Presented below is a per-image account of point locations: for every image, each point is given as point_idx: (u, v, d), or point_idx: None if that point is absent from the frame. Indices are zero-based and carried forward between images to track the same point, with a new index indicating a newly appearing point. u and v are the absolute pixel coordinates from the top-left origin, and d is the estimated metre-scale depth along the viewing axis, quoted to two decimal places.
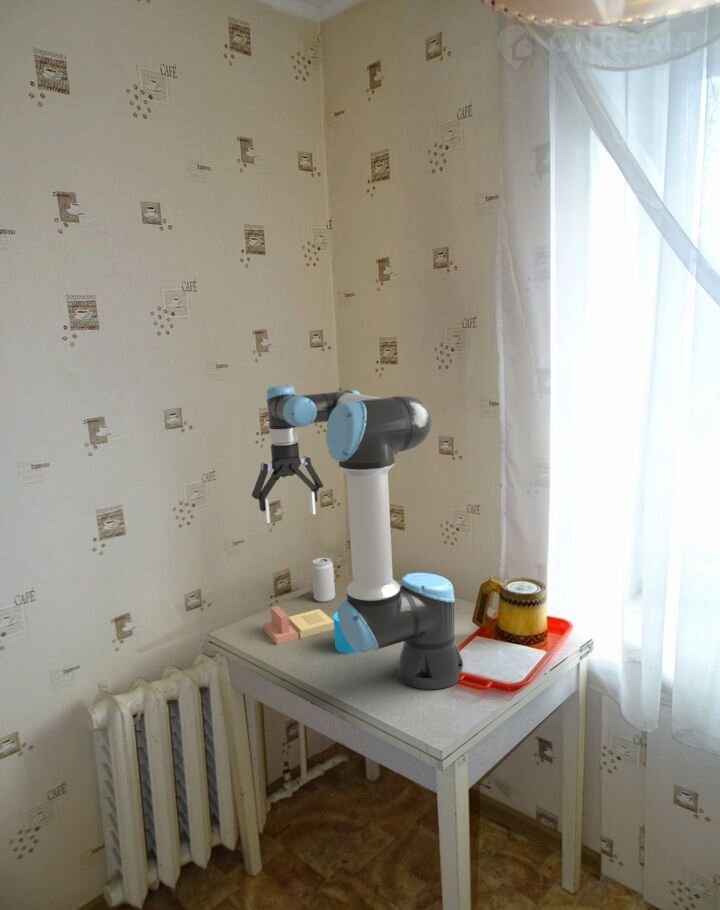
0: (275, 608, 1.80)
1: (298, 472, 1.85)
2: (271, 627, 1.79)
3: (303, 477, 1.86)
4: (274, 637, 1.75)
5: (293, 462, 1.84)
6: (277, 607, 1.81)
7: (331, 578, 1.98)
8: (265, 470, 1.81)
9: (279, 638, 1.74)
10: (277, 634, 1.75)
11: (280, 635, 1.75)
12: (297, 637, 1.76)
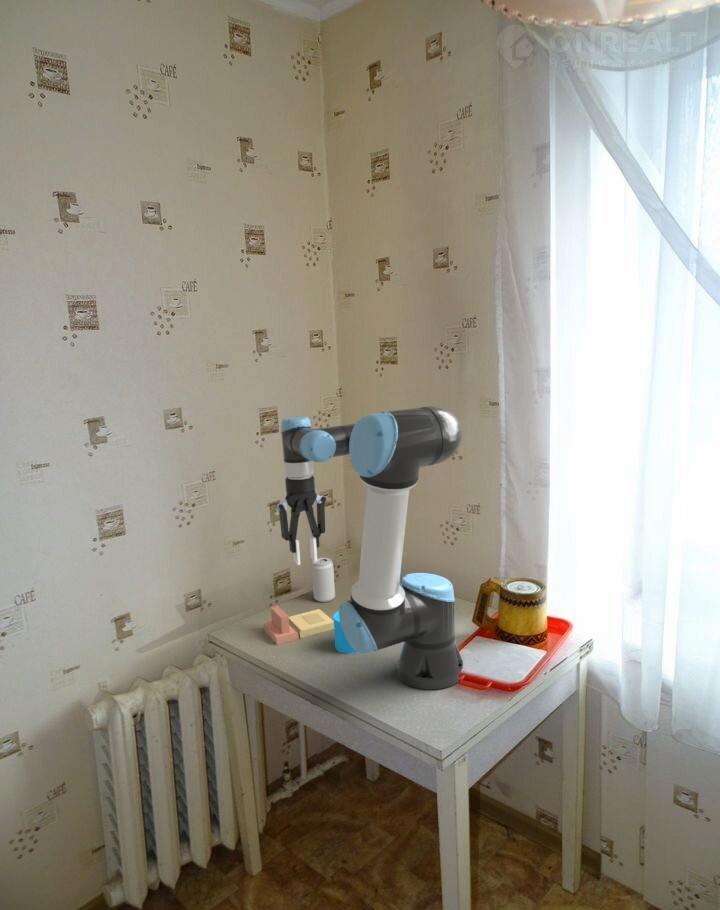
0: (275, 608, 1.80)
1: (310, 509, 1.76)
2: (271, 627, 1.79)
3: (312, 517, 1.77)
4: (274, 637, 1.75)
5: (309, 494, 1.76)
6: (277, 607, 1.81)
7: (331, 578, 1.98)
8: (283, 511, 1.73)
9: (279, 638, 1.74)
10: (277, 634, 1.75)
11: (280, 635, 1.75)
12: (297, 637, 1.76)
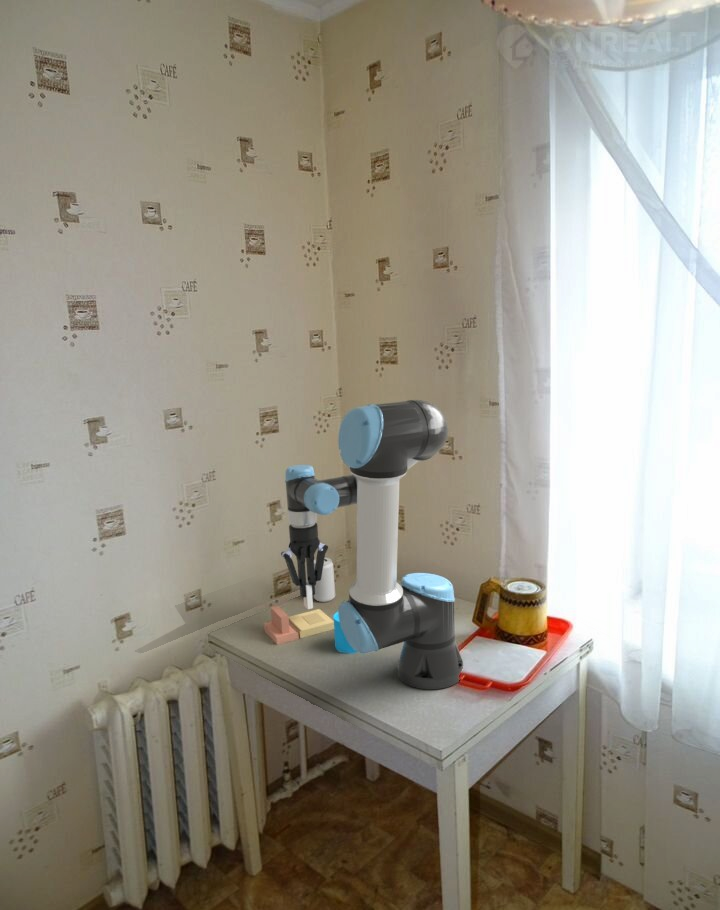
0: (275, 608, 1.80)
1: (311, 556, 1.78)
2: (271, 627, 1.79)
3: (311, 564, 1.79)
4: (274, 637, 1.75)
5: (313, 540, 1.78)
6: (277, 607, 1.81)
7: (331, 578, 1.98)
8: (288, 559, 1.76)
9: (279, 638, 1.74)
10: (277, 634, 1.75)
11: (280, 635, 1.75)
12: (297, 637, 1.76)
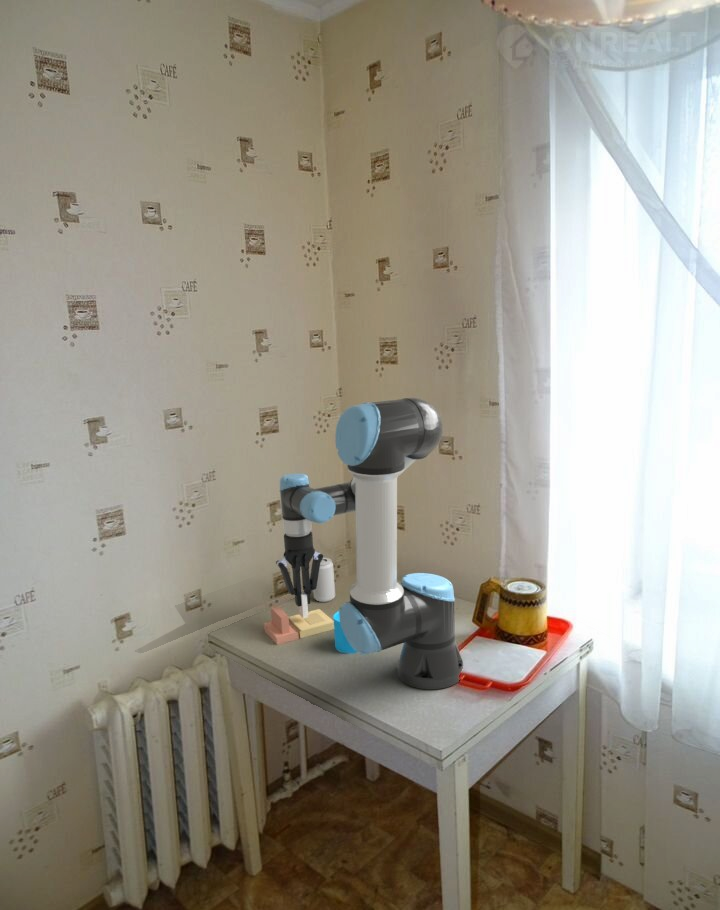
0: (275, 608, 1.80)
1: (306, 565, 1.78)
2: (271, 627, 1.79)
3: (306, 573, 1.79)
4: (274, 637, 1.75)
5: (308, 549, 1.78)
6: (277, 607, 1.81)
7: (331, 578, 1.98)
8: (283, 568, 1.76)
9: (279, 638, 1.74)
10: (277, 634, 1.75)
11: (280, 635, 1.75)
12: (297, 637, 1.76)
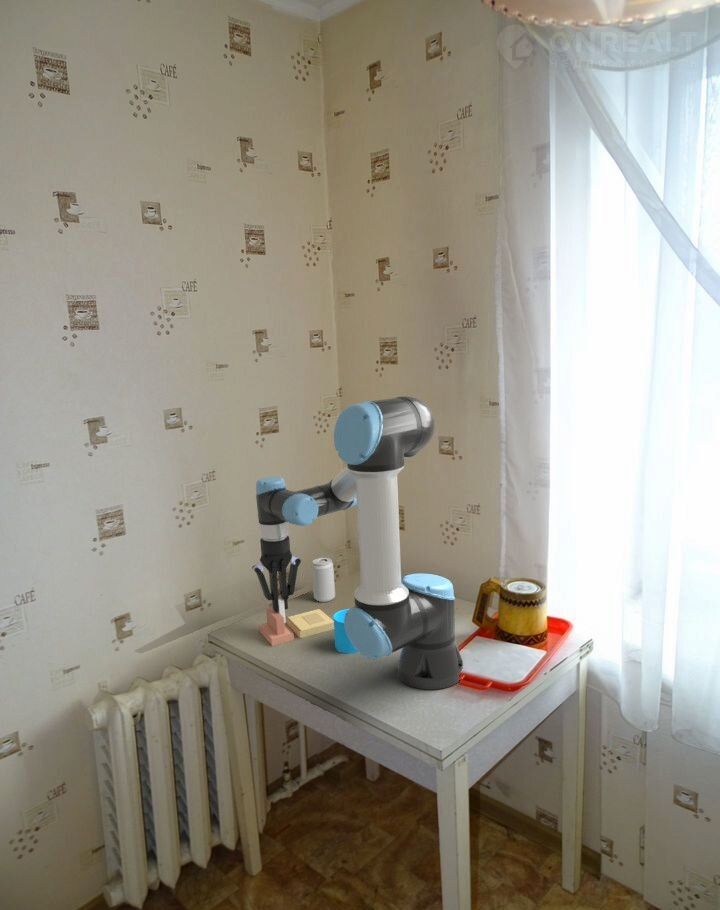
0: (270, 609, 1.80)
1: (283, 570, 1.75)
2: (267, 629, 1.78)
3: (283, 578, 1.76)
4: (269, 638, 1.74)
5: (285, 554, 1.75)
6: (272, 608, 1.80)
7: (331, 578, 1.98)
8: (259, 573, 1.73)
9: (274, 639, 1.73)
10: (272, 636, 1.74)
11: (275, 636, 1.74)
12: (292, 638, 1.75)
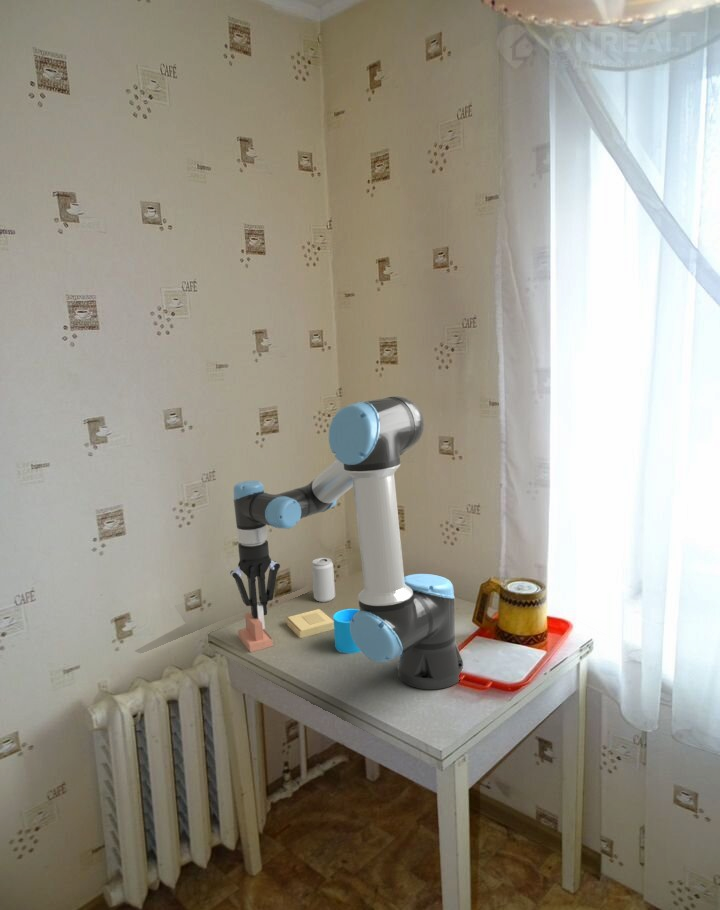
0: (249, 614, 1.77)
1: (262, 575, 1.72)
2: (245, 634, 1.76)
3: (262, 583, 1.73)
4: (247, 644, 1.72)
5: (264, 558, 1.73)
6: None
7: (331, 578, 1.98)
8: (238, 579, 1.70)
9: (252, 645, 1.70)
10: (251, 641, 1.72)
11: (253, 642, 1.71)
12: (271, 644, 1.73)
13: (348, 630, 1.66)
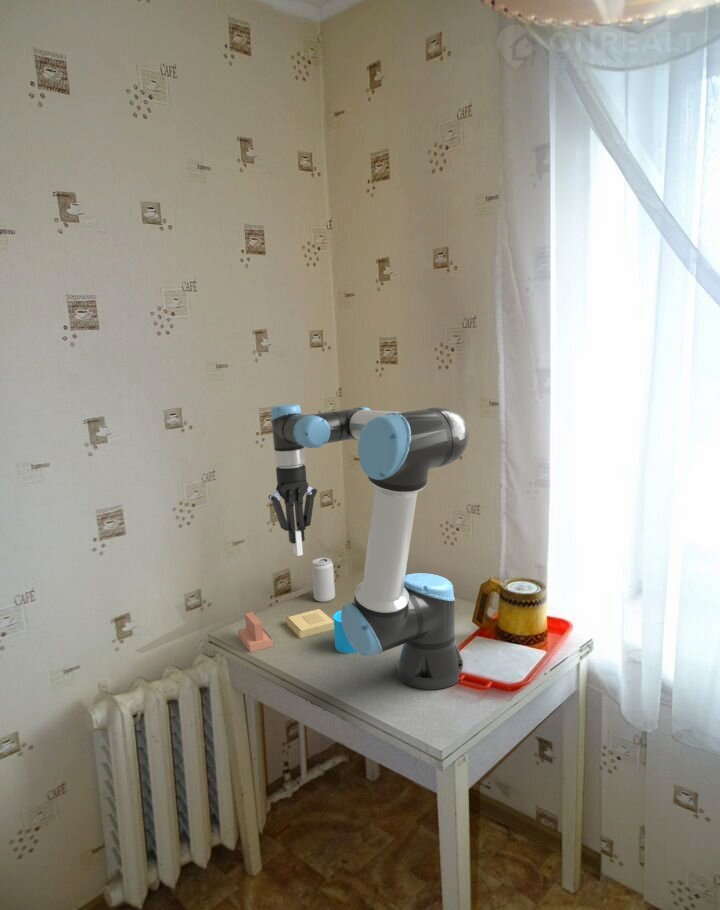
0: (249, 614, 1.77)
1: (300, 499, 1.72)
2: (245, 634, 1.76)
3: (300, 508, 1.73)
4: (247, 644, 1.72)
5: (301, 483, 1.72)
6: (251, 613, 1.78)
7: (331, 578, 1.98)
8: (276, 502, 1.69)
9: (252, 645, 1.70)
10: (251, 641, 1.72)
11: (253, 642, 1.71)
12: (271, 644, 1.73)
13: None
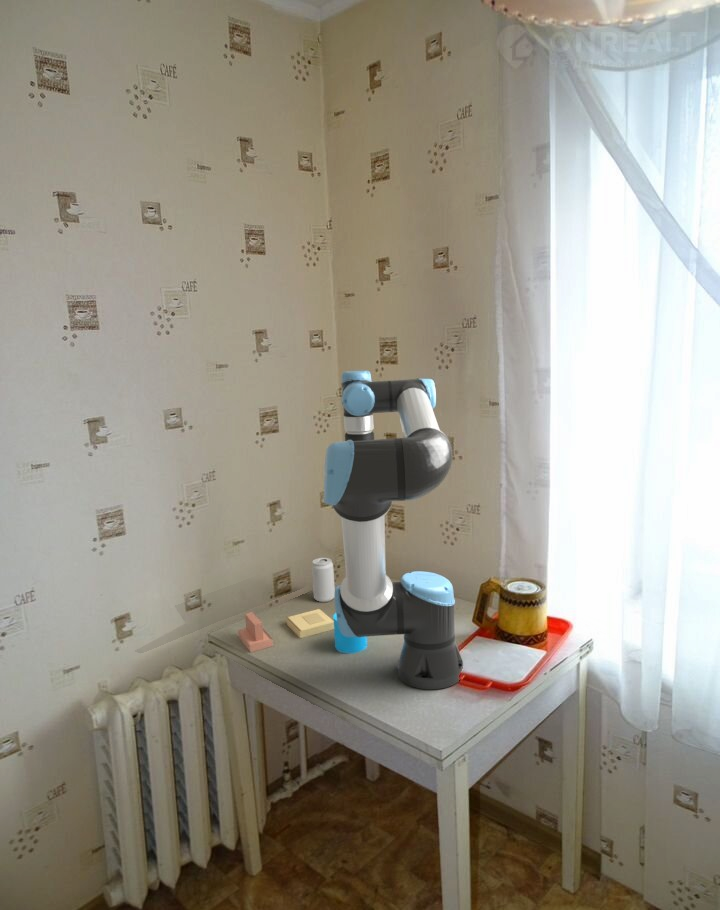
0: (249, 614, 1.77)
1: None
2: (245, 634, 1.76)
3: None
4: (247, 644, 1.72)
5: None
6: (251, 613, 1.78)
7: (331, 578, 1.98)
8: None
9: (252, 645, 1.70)
10: (251, 641, 1.72)
11: (253, 642, 1.71)
12: (271, 644, 1.73)
13: None
